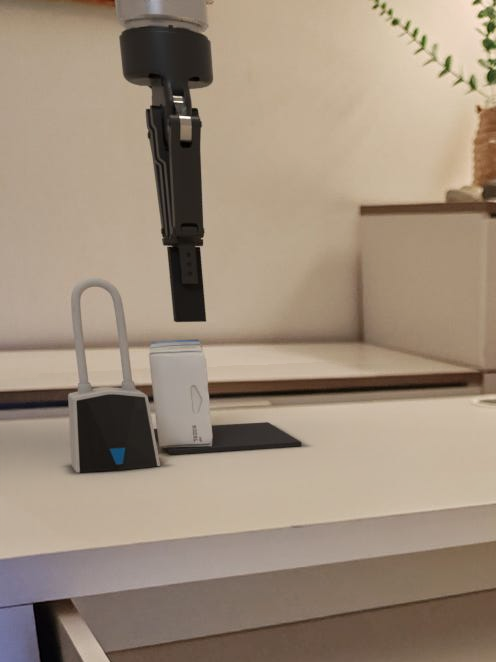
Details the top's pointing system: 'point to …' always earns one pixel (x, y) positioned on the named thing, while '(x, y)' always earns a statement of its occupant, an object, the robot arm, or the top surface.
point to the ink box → (180, 393)
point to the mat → (240, 438)
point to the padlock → (108, 406)
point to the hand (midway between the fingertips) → (190, 321)
